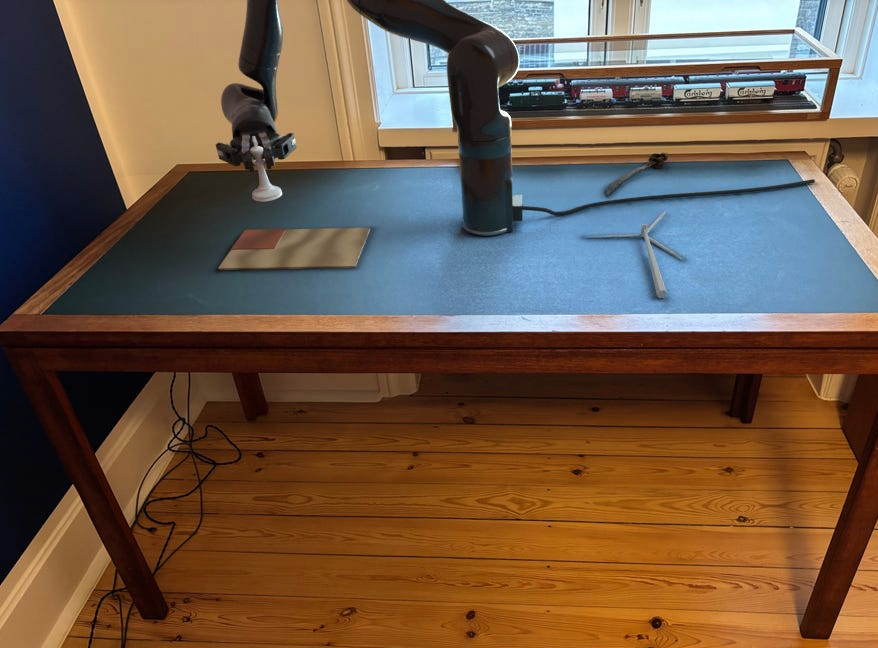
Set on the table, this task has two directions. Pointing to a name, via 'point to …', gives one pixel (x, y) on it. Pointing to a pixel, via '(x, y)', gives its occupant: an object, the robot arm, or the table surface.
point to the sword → (638, 170)
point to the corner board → (296, 249)
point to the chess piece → (263, 177)
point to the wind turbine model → (651, 256)
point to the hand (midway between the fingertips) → (259, 164)
